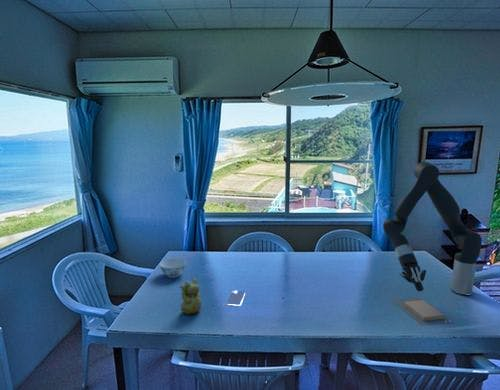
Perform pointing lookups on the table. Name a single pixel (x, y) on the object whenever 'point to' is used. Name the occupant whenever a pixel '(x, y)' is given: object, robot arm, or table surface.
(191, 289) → the decorative figurine
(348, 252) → the table surface
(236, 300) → the mobile phone
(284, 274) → the table surface
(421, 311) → the tile
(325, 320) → the table surface
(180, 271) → the chinaware
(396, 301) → the mat
